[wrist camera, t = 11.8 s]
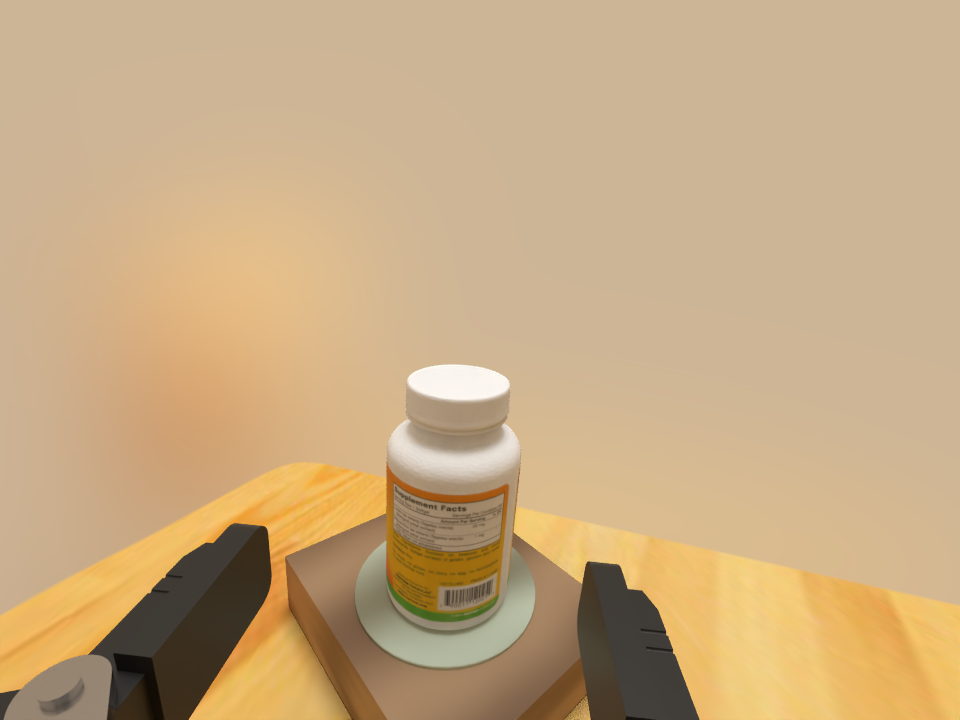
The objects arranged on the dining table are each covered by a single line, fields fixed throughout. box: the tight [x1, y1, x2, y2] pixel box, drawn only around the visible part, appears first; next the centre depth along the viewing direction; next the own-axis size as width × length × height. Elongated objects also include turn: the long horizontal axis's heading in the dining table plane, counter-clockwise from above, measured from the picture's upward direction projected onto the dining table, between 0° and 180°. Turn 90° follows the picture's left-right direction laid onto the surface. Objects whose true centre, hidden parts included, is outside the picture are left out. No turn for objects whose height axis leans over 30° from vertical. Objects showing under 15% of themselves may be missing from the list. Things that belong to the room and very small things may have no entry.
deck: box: [285, 514, 587, 720], centre depth 21 cm, size 12×10×3 cm
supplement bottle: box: [386, 365, 521, 630], centre depth 19 cm, size 5×5×10 cm
